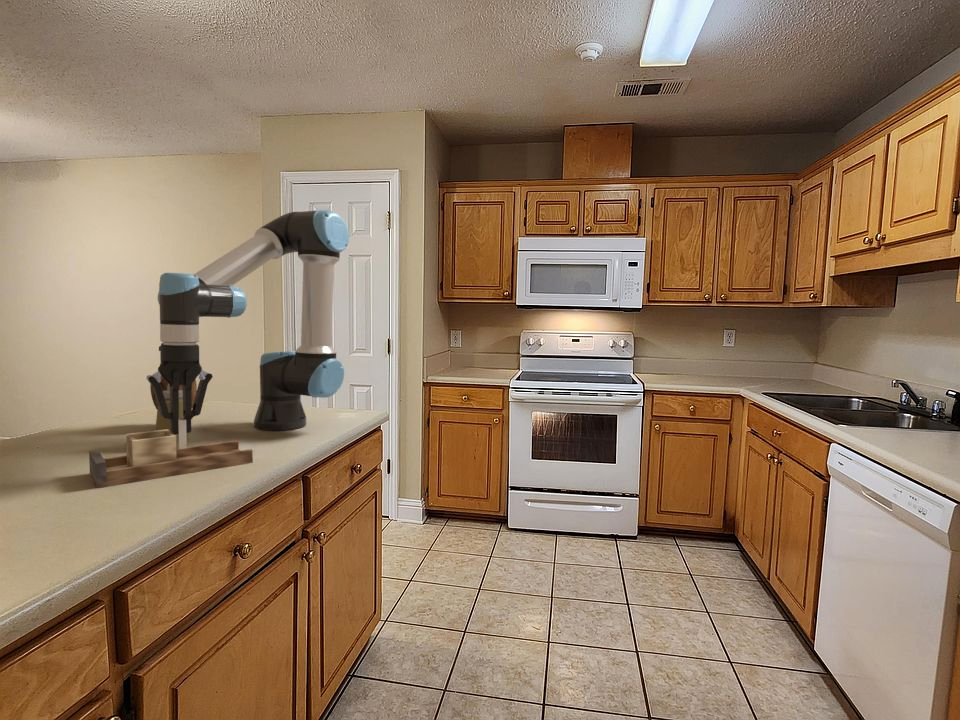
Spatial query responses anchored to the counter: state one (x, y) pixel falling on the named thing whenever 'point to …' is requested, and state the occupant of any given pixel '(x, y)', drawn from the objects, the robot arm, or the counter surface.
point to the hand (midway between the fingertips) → (181, 447)
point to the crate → (150, 447)
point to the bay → (167, 464)
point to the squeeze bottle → (166, 423)
